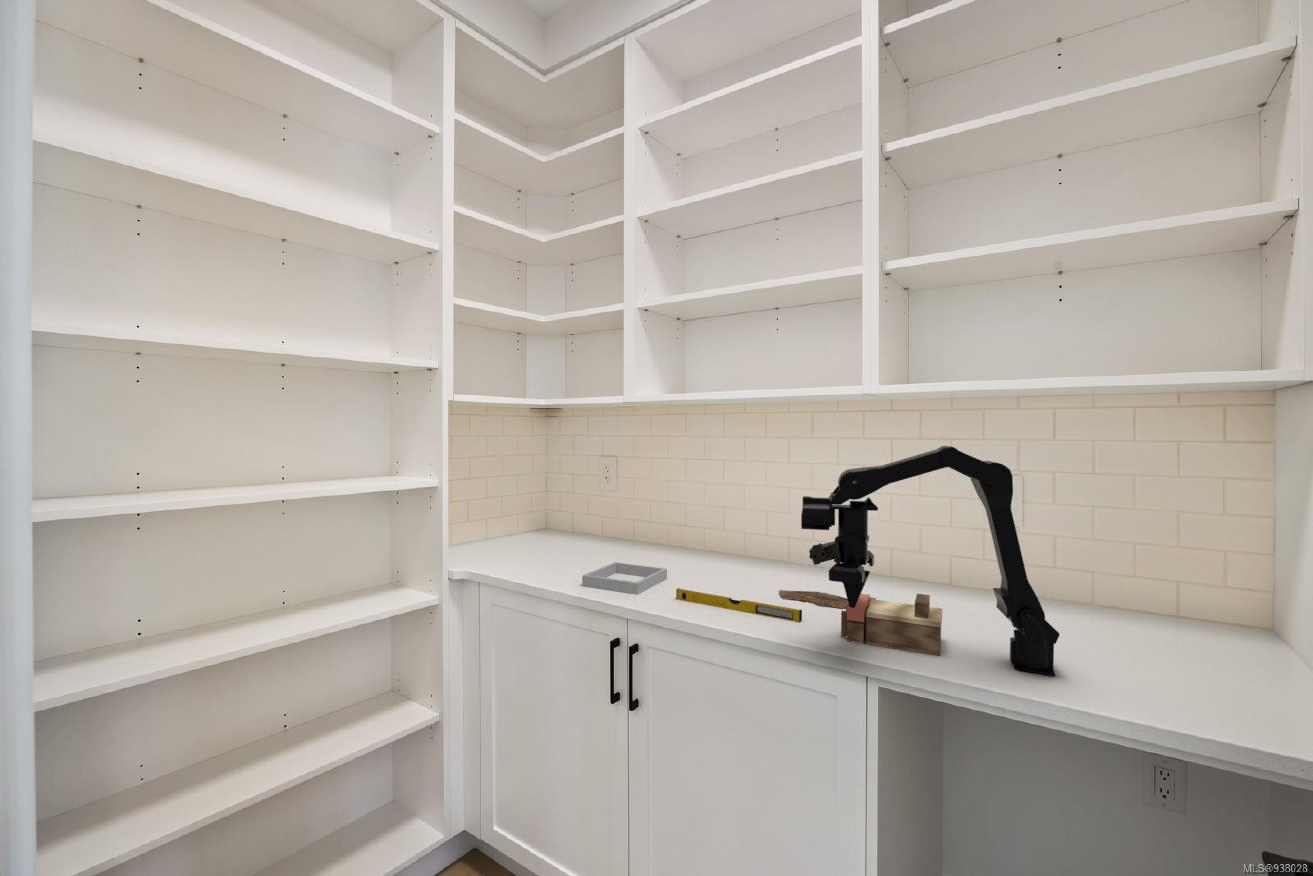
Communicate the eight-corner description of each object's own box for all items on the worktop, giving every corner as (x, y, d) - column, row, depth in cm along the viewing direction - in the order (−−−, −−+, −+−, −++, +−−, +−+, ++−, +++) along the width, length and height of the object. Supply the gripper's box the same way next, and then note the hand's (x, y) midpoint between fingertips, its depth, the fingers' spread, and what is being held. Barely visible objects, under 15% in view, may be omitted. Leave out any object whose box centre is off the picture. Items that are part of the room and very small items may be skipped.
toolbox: (942, 624, 137) (942, 600, 137) (939, 656, 118) (939, 628, 118) (855, 611, 146) (855, 589, 145) (839, 639, 127) (840, 614, 127)
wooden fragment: (769, 597, 158) (769, 593, 158) (786, 588, 167) (786, 584, 167) (867, 616, 143) (867, 612, 143) (880, 605, 152) (880, 601, 152)
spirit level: (676, 600, 156) (676, 589, 156) (678, 599, 157) (678, 588, 157) (800, 623, 138) (800, 611, 138) (801, 622, 139) (802, 609, 139)
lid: (942, 613, 127) (942, 594, 127) (941, 627, 118) (941, 607, 118) (872, 603, 133) (872, 586, 133) (866, 616, 125) (866, 598, 124)
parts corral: (666, 578, 176) (666, 568, 176) (637, 594, 160) (637, 583, 160) (615, 571, 184) (615, 562, 184) (582, 585, 168) (582, 575, 168)
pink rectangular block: (869, 610, 133) (869, 594, 133) (864, 622, 125) (864, 606, 125) (853, 608, 134) (853, 592, 134) (846, 619, 126) (846, 603, 126)
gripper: (822, 521, 133) (821, 590, 133) (802, 535, 116) (802, 614, 116) (874, 525, 128) (874, 597, 128) (861, 540, 111) (861, 623, 111)
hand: (852, 607), depth 121 cm, fingers closed
